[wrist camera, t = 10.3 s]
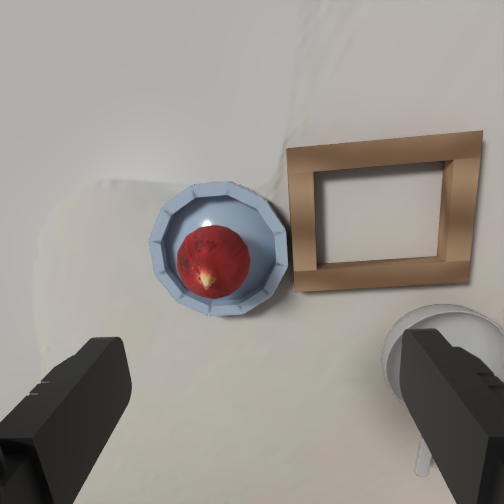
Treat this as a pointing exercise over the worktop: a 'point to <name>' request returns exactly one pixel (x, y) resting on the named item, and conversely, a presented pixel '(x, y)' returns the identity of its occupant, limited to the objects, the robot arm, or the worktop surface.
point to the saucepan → (458, 335)
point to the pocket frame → (381, 154)
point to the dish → (235, 218)
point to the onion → (213, 261)
